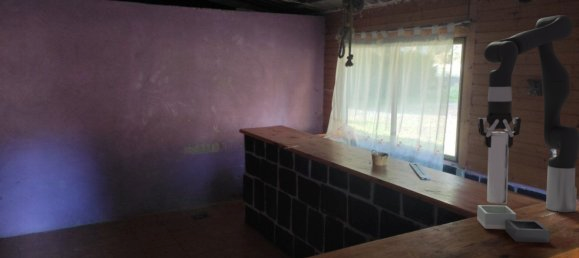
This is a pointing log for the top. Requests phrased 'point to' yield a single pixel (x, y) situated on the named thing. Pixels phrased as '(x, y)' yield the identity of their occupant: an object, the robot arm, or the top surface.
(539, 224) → the socket
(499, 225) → the white open box
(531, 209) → the top surface
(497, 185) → the air filter
